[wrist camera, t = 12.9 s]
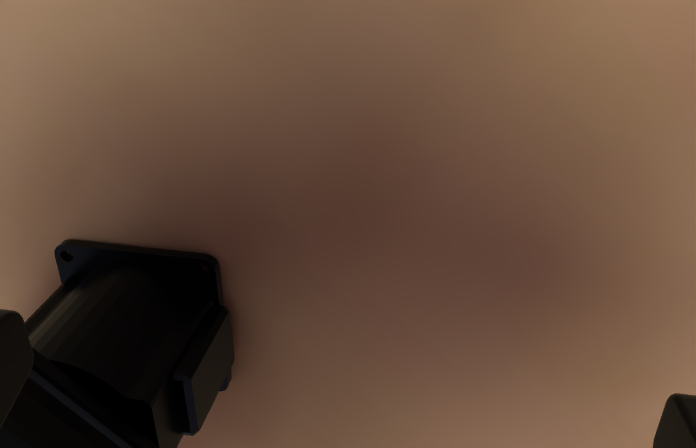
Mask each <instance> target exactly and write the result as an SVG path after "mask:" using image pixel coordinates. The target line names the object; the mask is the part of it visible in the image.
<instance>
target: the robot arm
mask: <svg viewBox="0 0 696 448" xmlns="http://www.w3.org/2000/svg"><path fill="white" fill-rule="evenodd" d="M67 251H68V252H70V253H71V254H72V256H70V255H69V254H68V253H67ZM55 258H56V262H57V266H58V270H59V274H60V278H61V282H62V285H61V286H60V287H59V288H58V289H57V290H56V291H55V292H54V293H53V294H52V295H51V296H50V297H49V298H48V299H47V300H46V301H45V302H44V303H43V304H42V305H41V306H40V307H39V308H38V309H37V310H36V311H35V312H34V314H33V315H32V316H31V317H30V318H29V319H28V320H27V321H26V322H25V323H24V320H23V318H22V316H21V315H20V314H19V313H18V312H16V311H11V310H3V309H0V448H177V446H178V444H179V443H180V441H181V439H182V437H183V435H190V436H193V435H195V434H196V433H197V432H198V431H199V430H200V429H201V427H202V425H203V423H204V421H205V419H206V416H207V414H208V412H209V410H210V408H211V406H212V404H213V402H214V400H215V398H216V396H217V394H218V392H219V391H224V390H226V389H227V387H228V385H229V383H230V381H231V369H230V368H231V366H232V364H233V362H234V349H233V339H232V330H231V320H230V312H229V310H228V309H227V307H226V306H224V305H223V295H222V286H221V277H220V268H219V264H218V261H217V260H216V259H215V258H214V257H212V256H211V255H208V254H203V253H193V252H183V251H173V250H164V249H154V248H144V247H134V246H125V245H115V244H105V243H95V242H86V241H76V240H65V241H63V242H62V243H61V244H60V245H58V246H57V247H56V249H55ZM201 265H204V266H206V267H207V268H208V269H209V271H206V270H204V269H203V268H202V267H201ZM653 448H696V396H695V395H687V394H679V393H675V394H672V395H670V397H669V398H668V399H667V402H666V404H665V407H664V410H663V413H662V416H661V419H660V422H659V425H658V428H657V431H656V434H655V437H654V442H653Z"/></svg>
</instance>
